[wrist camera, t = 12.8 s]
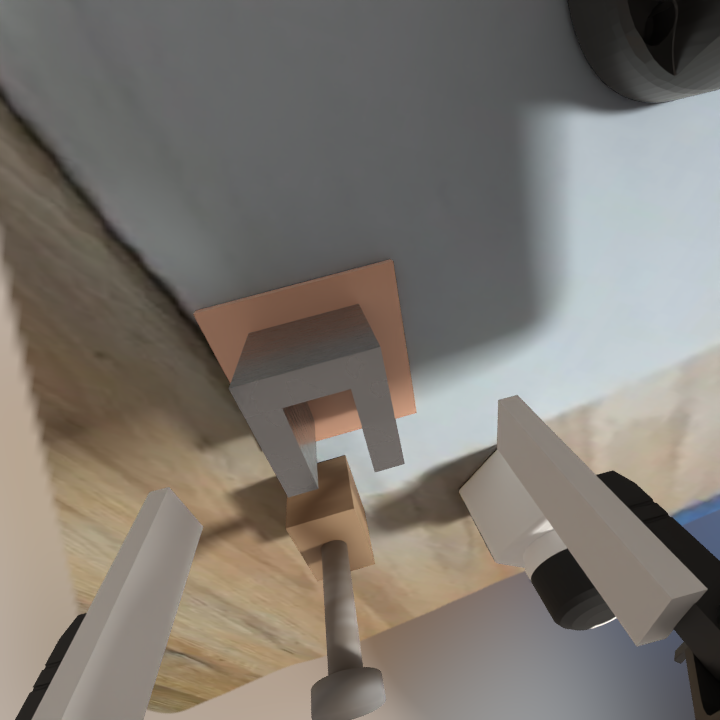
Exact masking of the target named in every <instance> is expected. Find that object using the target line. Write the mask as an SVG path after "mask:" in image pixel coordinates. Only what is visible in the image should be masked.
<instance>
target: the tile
mask: <svg viewBox="0 0 720 720" xmlns="http://www.w3.org/2000/svg"><path fill="white" fill-rule="evenodd" d="M355 304H359V305H360V307H361V309H362V311H363V313H364V315H365V317H366V319H367V321H368V323H369V325H370V327H371V329H372V331H373V333H374V335H375V337H376V339H377V341H378V343H379V345H380V347H381V352H382V357H383V361H384V366H385V371H386V376H387V381H388V386H389V391H390V396H391V400H392V405H393V410H394V415H395V419H396V418H400V417H403V416H407V415H410V414H414V413H417V412H416V406H415V399H414V393H413V386H412V380H411V373H410V367H409V360H408V354H407V347H406V341H405V334H404V328H403V322H402V315H401V309H400V302H399V296H398V289H397V283H396V276H395V270H394V263H393V261H392V260H391V259H389V260H385V261H382V262H378V263H374V264H370V265H366V266H363V267H359V268H355V269H351V270H348V271H344V272H340V273H336V274H332V275H329V276H325V277H321V278H317V279H313V280H310V281H306V282H302V283H298V284H295V285H291V286H287V287H283V288H279V289H276V290H272V291H268V292H264V293H260V294H257V295H253V296H249V297H245V298H242V299H238V300H234V301H230V302H226V303H223V304H219V305H215V306H211V307H207V308H204V309H200V310H196V311H195V312H194V314H193V315H194V317H195V319H196V320H197V322H198V324H199V326H200V328H201V330H202V332H203V334H204V335H205V337H206V339H207V341H208V343H209V345H210V347H211V348H212V350H213V352H214V354H215V356H216V358H217V360H218V361H219V363H220V365H221V367H222V369H223V371H224V373H225V374H226V376H227V378H228V380H229V382H230V383H231V381H232V378H233V375H234V372H235V369H236V367H237V364H238V361H239V358H240V355H241V353H242V350H243V347H244V344H245V342H246V339H247V336H248V333H251V332H255V331H259V330H262V329H266V328H270V327H273V326H277V325H281V324H285V323H288V322H292V321H296V320H300V319H303V318H307V317H311V316H314V315H318V314H322V313H326V312H329V311H333V310H337V309H340V308H344V307H348V306H352V305H355ZM307 403H308V406H309V408H310V411H311V413H312V416H313V418H314V422H315V438H316V441H319V440H323V439H326V438H330V437H333V436H337V435H340V434H344V433H347V432H351V431H354V430H358V429H361V428H362V425H361V422H360V418H359V415H358V411H357V408H356V405H355V401H354V398H353V394H352V391H351V389H349V390H345V391H342V392H338V393H335V394H331V395H328V396H324V397H320V398H317V399H313V400H310V401H307Z"/></svg>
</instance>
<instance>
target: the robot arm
mask: <svg viewBox="0 0 720 720" xmlns="http://www.w3.org/2000/svg"><path fill="white" fill-rule="evenodd" d="M568 4H569V9H570V14H571V19H572V22H573V26H574V30H575V33H576V36H577V38H578V41H579V44H580V46H581V48H582V51H583V53H584V55H585V57H586V59H587V60H588V62H589V64H590V66H591V67H592V68H593V70H594V71H595V73H596V74H597V75H598V76H599V77H600V79H601V80H602V81H603V82H604V83H605V84H606V85H608V86H609V87H610V88H611V89H613V90H614V91H615V92H617V93H619V94H621V95H623V96H625V97H627V98H630V99H632V100H636V101H640V102H649V103H659V102H668V101H673V100H677V99H682V98H686V97H690V96H694V95H699V94H703V93H707V92H711V91H715V90H719V89H720V0H568ZM497 449H498V451H499V452H500V454H501V455H502V456H503V458H504V459H505V461H506V462H507V463H508V465H509V466H510V468H511V469H512V470H513V472H514V473H515V475H516V476H517V478H518V479H519V480H520V482H521V483H522V485H523V486H524V487H525V489H526V490H527V492H528V493H529V495H530V496H531V497H532V499H533V500H534V502H535V503H536V504H537V506H538V507H539V509H540V510H541V512H542V513H543V514H544V516H545V517H546V519H547V520H548V521H549V523H550V524H551V526H552V527H553V528H554V530H555V531H556V533H557V534H558V536H559V537H560V538H561V540H562V541H563V543H564V544H565V545H566V547H567V548H568V550H569V551H570V553H571V554H572V555H573V557H574V558H575V560H576V561H577V562H578V564H579V565H580V567H581V568H582V569H583V571H584V572H585V574H586V575H587V577H588V578H589V579H590V581H591V582H592V584H593V585H594V586H595V588H596V589H597V591H598V592H599V594H600V595H601V596H602V598H603V599H604V601H605V602H606V603H607V605H608V606H609V608H610V609H611V611H612V612H613V613H614V615H615V616H616V618H617V619H618V620H619V622H620V623H621V625H622V626H623V627H624V629H625V630H626V632H627V633H628V635H629V636H630V637H631V639H632V640H633V642H634V643H635V644H636V646H640V645H644V644H647V643H651V642H655V641H658V640H662V639H665V638H667V637H668V636H669V634H670V633H671V632H672V631H673V630H675V631H676V632H677V634H678V635H679V636H680V637H681V638H682V640H683V641H684V642H683V643H682V644H681V646H680V647H679V648H678V649H677V650H676V651H675V658H674V660H675V661H676V662H678V663H682V662H683V661H684V660H685V659H686V663H687V668H688V675H689V681H690V688H691V693H692V700H693V706H694V713H695V718H696V720H720V561H719V560H718V559H717V558H716V557H715V556H713V554H711V553H710V552H709V551H708V550H707V549H706V548H705V547H704V546H703V545H702V544H700V543H699V541H697V540H696V539H695V538H694V537H693V536H692V535H691V534H690V533H689V532H688V531H687V530H685V529H684V528H683V527H682V526H681V525H680V524H679V523H678V522H677V521H676V520H675V519H674V518H672V517H670V516H669V515H668V513H667V512H666V511H665V510H664V509H663V508H662V507H660V506H659V505H658V504H657V503H654V501H653V499H652V498H651V497H650V496H649V495H647V494H646V493H645V492H644V491H643V490H642V489H641V488H640V487H639V486H638V485H637V484H635V483H634V482H632V481H631V480H629V479H627V478H625V477H624V476H622V475H620V474H618V473H617V472H615V471H609V472H606V473H602V474H598V475H595V474H594V473H593V472H592V471H591V470H590V469H589V468H588V467H587V466H586V464H585V463H584V462H583V461H582V460H581V459H580V458H579V457H578V456H577V455H576V454H575V453H574V452H573V451H572V450H571V449H570V448H569V447H568V446H567V445H566V444H565V443H564V442H563V441H562V440H561V439H560V438H559V437H558V436H557V435H556V434H555V433H554V432H553V431H552V430H551V429H550V428H549V427H548V426H547V425H546V424H545V423H544V422H543V421H542V420H541V419H540V418H539V417H538V416H537V415H536V414H535V413H534V412H533V411H532V409H531V408H530V407H529V406H528V405H527V404H526V403H525V402H524V401H523V400H522V399H521V398H520V397H519V396H518V395H515V396H512V397H508V398H504V399H500V400H498V428H497ZM202 529H203V526H202V525H201V524H200V522H199V521H198V520H197V519H196V518H195V517H194V515H193V514H192V513H191V512H190V511H189V510H188V508H187V507H186V506H185V505H184V504H183V503H182V502H181V500H180V499H179V498H178V497H177V496H176V495H175V493H174V492H173V491H172V490H171V489H170V488H169V487H167V488H164V489H160V490H156V491H152V492H149V494H148V496H147V498H146V500H145V502H144V504H143V506H142V508H141V510H140V512H139V513H138V515H137V517H136V519H135V521H134V523H133V525H132V527H131V529H130V531H129V533H128V535H127V537H126V539H125V540H124V542H123V544H122V546H121V548H120V550H119V552H118V554H117V556H116V558H115V560H114V562H113V564H112V565H111V567H110V569H109V571H108V573H107V575H106V577H105V579H104V581H103V583H102V585H101V587H100V589H99V591H98V592H97V594H96V596H95V598H94V600H93V602H92V604H91V606H90V608H89V610H88V612H87V613H85V614H81V615H78V616H77V617H76V619H75V620H74V621H73V623H72V624H71V625H70V626H69V628H68V629H67V630H66V631H65V633H64V634H63V635H62V636H61V638H60V639H59V641H58V643H57V644H56V646H55V648H54V650H53V652H52V653H51V656H50V657H49V659H48V661H47V663H46V664H45V665H46V667H45V669H44V670H42V672H41V673H40V675H39V677H38V679H37V681H36V683H35V685H34V686H33V687H34V689H33V691H32V692H31V693H29V695H28V697H27V699H26V701H25V703H24V705H23V706H22V708H21V710H20V712H19V714H18V716H17V717H16V719H15V720H143V719H144V716H145V712H146V709H147V706H148V703H149V700H150V696H151V693H152V690H153V687H154V683H155V680H156V677H157V674H158V671H159V667H160V664H161V661H162V658H163V654H164V651H165V648H166V645H167V642H168V638H169V635H170V632H171V629H172V625H173V622H174V619H175V616H176V613H177V609H178V606H179V603H180V600H181V596H182V593H183V590H184V587H185V584H186V580H187V577H188V574H189V571H190V567H191V564H192V561H193V558H194V555H195V551H196V548H197V545H198V542H199V538H200V535H201V532H202Z"/></svg>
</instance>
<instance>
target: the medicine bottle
mask: <svg viewBox="0 0 720 720" xmlns="http://www.w3.org/2000/svg"><path fill="white" fill-rule="evenodd" d="M459 494H460V496H461V498H462V500H463V501H464V503H465V505H466V507H467V509H468V511H469V513H470V515H471V517H472V519H473V521H474V523H475V525H476V526H477V528H478V530H479V532H480V534H481V536H482V538H483V540H484V542H485V544H486V546H487V548H488V550H489V551H490V553H491V555H492V557H493V559H494V561H495V562H496V563H499V564H504V565H510V566H517V567H523V568H525V572H526V574H527V575H528V577H529V579H530V581H531V582H532V584H533V586H534V587H535V589H536V591H537V592H538V594H539V596H540V597H541V599H542V601H543V603H544V604H545V606H546V608H547V610H548V611H549V613H550V615H551V616H552V618H553V620H554V621H555V623H557V624H558V625H560V626H561V627H563V628H566V629H573V630H587V629H591V628H595V627H598V626H601V625H603V624H606V623H608V622H610V621H612V620H614V619H616V616H615V615H614V613H613V612H612V611H611V609H610V608H609V606H608V605H607V603H606V602H605V601H604V599H603V598H602V596H601V595H600V594H599V592H598V591H597V589H596V588H595V586H594V585H593V584H592V582H591V581H590V579H589V578H588V577H587V575H586V574H585V572H584V571H583V569H582V568H581V567H580V565H579V564H578V562H577V561H576V560H575V558H574V557H573V555H572V554H571V553H570V551H569V550H568V548H567V547H566V545H565V544H564V543H563V541H562V540H561V538H560V537H559V536H558V534H557V533H556V531H555V530H554V528H553V527H552V526H551V524H550V523H549V521H548V520H547V519H546V517H545V516H544V514H543V513H542V512H541V510H540V509H539V507H538V506H537V504H536V503H535V502H534V500H533V499H532V497H531V496H530V495H529V493H528V492H527V490H526V489H525V487H524V486H523V485H522V483H521V482H520V480H519V479H518V478H517V476H516V475H515V473H514V472H513V470H512V469H511V468H510V466H509V465H508V463H507V462H506V461H505V459H504V458H503V456H502V455H501V454H500V452H499V451H498V449H497V450H496V451H495V452H494V453H493V454H492V455H491V456H490V457H489V458H488V460H487V461H486V462H485V463H484V464H483V465H482V466H481V467H480V468H479V469H478V470H477V471H476V472H475V474H474V475H473V476H472V477H471V478H470V479H469V480H468V481H467V482H466V483H465V484H464V485H463V486H462V487H461V489H460V490H459Z"/></svg>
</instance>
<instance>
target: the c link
mask: <svg viewBox="0 0 720 720" xmlns="http://www.w3.org/2000/svg"><path fill="white" fill-rule="evenodd" d="M349 389H351V391H352V394H353V398H354V401H355V405H356V408H357V411H358V415H359V418H360V422H361V425H362V429H363V432H364V436H365V439H366V443H367V446H368V450H369V453H370V457H371V460H372V464H373V467H374V471H375V472H378V471H381V470H385V469H388V468H392V467H395V466H399V465H402V464H404V459H403V454H402V449H401V444H400V439H399V434H398V430H397V425H396V420H395V415H394V410H393V405H392V400H391V396H390V391H389V386H388V381H387V376H386V371H385V366H384V361H383V357H382V352H381V347H380V345H379V343H378V341H377V339H376V337H375V335H374V333H373V331H372V329H371V327H370V325H369V323H368V321H367V319H366V317H365V315H364V313H363V311H362V309H361V307H360V305H359V304H355V305H352V306H348V307H344V308H340V309H337V310H333V311H329V312H326V313H322V314H318V315H314V316H311V317H307V318H303V319H300V320H296V321H292V322H288V323H285V324H281V325H277V326H273V327H270V328H266V329H262V330H259V331H255V332H251V333H248V336H247V339H246V342H245V344H244V347H243V350H242V353H241V355H240V358H239V361H238V364H237V367H236V369H235V372H234V375H233V378H232V381H231V383H230V386H229V390H230V392H231V394H232V396H233V398H234V399H235V401H236V403H237V405H238V407H239V409H240V410H241V412H242V414H243V416H244V418H245V419H246V421H247V423H248V425H249V427H250V429H251V430H252V432H253V434H254V436H255V438H256V440H257V441H258V443H259V445H260V447H261V449H262V451H263V452H264V454H265V456H266V458H267V460H268V461H269V463H270V465H271V467H272V469H273V471H274V472H275V474H276V476H277V478H278V480H279V482H280V483H281V485H282V487H283V489H284V491H285V493H286V494H287V496H288V498H289V497H292V496H296V495H299V494H302V493H306V492H309V491H313V490H316V489H318V472H317V455H316V438H315V422H314V418H313V416H312V413H311V411H310V408H309V406H308V403H307V401H310V400H313V399H317V398H320V397H324V396H328V395H331V394H335V393H338V392H342V391H345V390H349Z"/></svg>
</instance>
